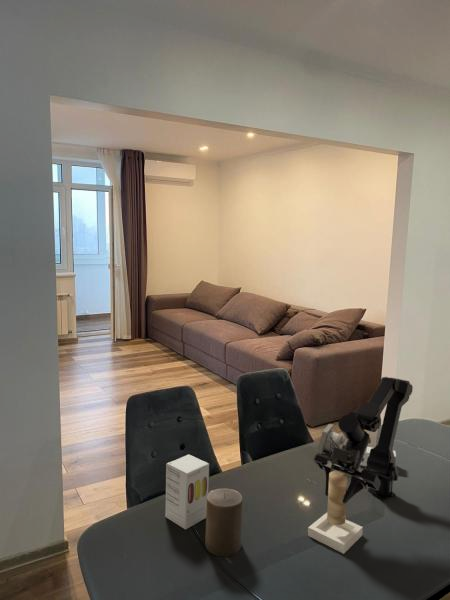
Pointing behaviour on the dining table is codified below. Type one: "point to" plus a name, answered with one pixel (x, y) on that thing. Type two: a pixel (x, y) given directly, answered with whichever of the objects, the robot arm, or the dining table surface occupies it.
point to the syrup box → (369, 454)
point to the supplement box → (186, 490)
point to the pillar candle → (223, 522)
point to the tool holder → (335, 533)
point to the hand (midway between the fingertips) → (334, 499)
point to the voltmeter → (330, 440)
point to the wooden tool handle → (337, 497)
